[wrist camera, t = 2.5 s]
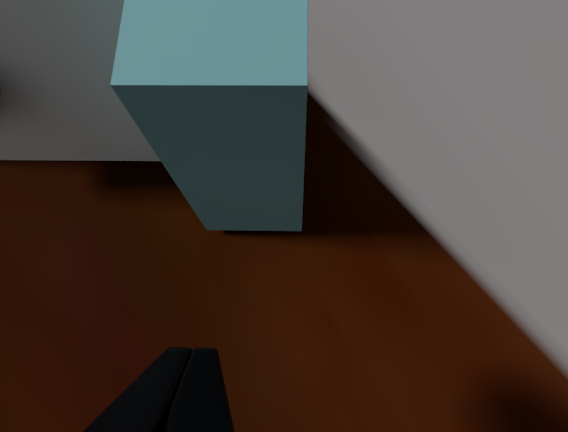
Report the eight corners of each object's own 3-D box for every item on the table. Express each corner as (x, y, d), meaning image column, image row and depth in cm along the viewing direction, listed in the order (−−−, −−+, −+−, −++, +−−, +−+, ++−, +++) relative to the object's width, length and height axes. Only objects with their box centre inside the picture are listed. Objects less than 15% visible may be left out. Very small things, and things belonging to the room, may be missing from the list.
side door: (301, 231, 16) (307, 85, 8) (206, 230, 17) (110, 84, 8) (303, -8, 20) (309, -289, 11) (225, -8, 20) (171, -286, 11)
